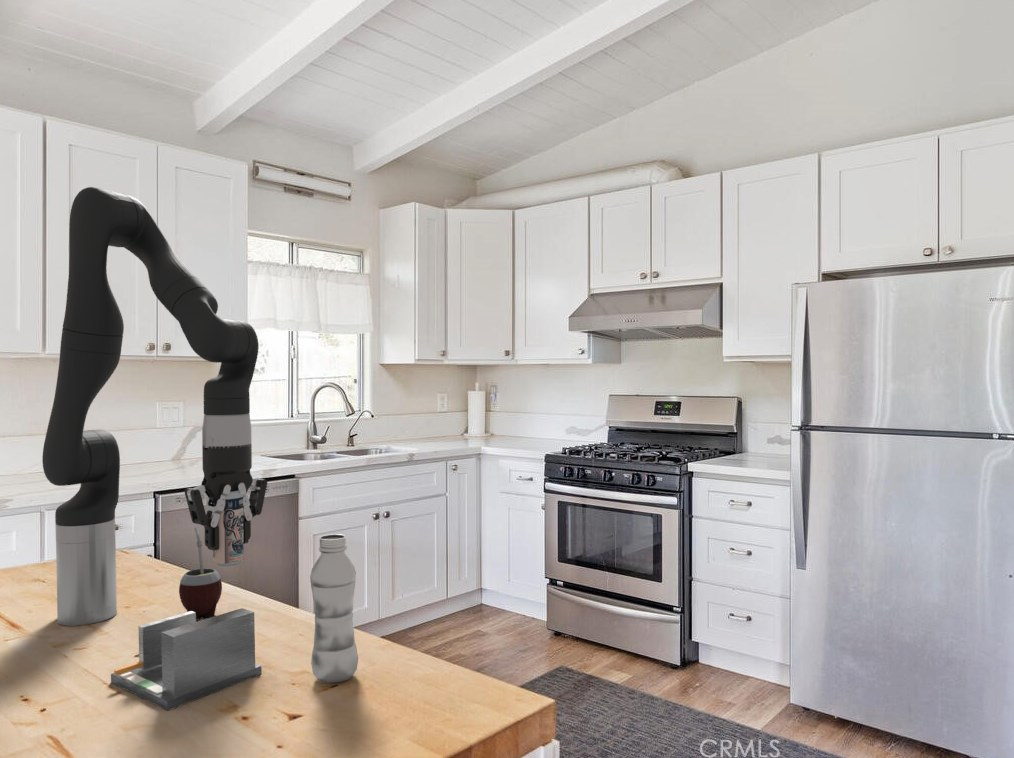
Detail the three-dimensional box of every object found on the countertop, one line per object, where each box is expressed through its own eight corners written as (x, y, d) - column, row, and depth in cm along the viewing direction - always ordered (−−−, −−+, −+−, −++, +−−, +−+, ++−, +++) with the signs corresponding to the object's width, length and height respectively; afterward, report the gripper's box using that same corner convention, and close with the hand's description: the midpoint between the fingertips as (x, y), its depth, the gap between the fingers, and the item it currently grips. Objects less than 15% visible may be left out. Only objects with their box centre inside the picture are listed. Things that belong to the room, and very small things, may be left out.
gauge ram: (111, 675, 103) (111, 632, 103) (190, 649, 113) (189, 610, 112) (117, 678, 102) (116, 635, 102) (196, 652, 112) (195, 612, 111)
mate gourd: (202, 625, 128) (201, 538, 128) (166, 620, 131) (164, 535, 130) (232, 612, 135) (231, 529, 135) (197, 607, 138) (196, 526, 137)
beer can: (233, 568, 119) (232, 493, 119) (206, 566, 120) (205, 492, 120) (249, 560, 124) (249, 488, 124) (223, 558, 125) (223, 487, 124)
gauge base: (111, 682, 105) (109, 617, 105) (203, 651, 116) (202, 592, 116) (167, 710, 96) (165, 639, 96) (261, 674, 107) (260, 610, 107)
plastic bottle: (317, 692, 100) (315, 544, 100) (306, 674, 106) (304, 535, 106) (364, 683, 103) (362, 539, 103) (351, 666, 109) (348, 530, 109)
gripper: (251, 437, 129) (252, 535, 130) (172, 444, 118) (173, 551, 118) (278, 439, 125) (279, 541, 125) (199, 447, 113) (200, 559, 114)
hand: (228, 545), depth 122 cm, fingers closed on beer can, 4 cm apart
